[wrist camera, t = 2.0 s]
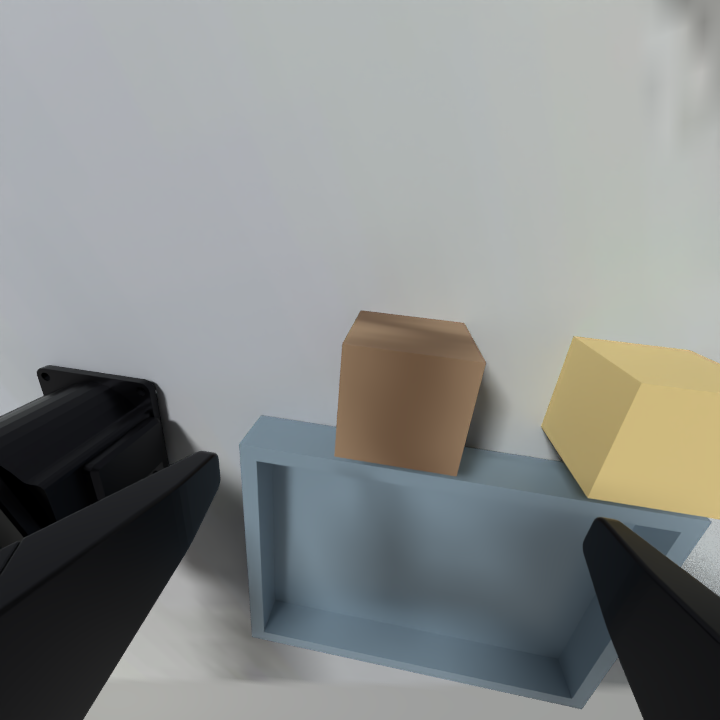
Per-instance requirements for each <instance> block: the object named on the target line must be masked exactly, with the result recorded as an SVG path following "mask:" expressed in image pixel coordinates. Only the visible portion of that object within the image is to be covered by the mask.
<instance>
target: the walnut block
mask: <svg viewBox="0 0 720 720" xmlns="http://www.w3.org/2000/svg"><path fill="white" fill-rule="evenodd" d="M485 365H486V362H485V360H484V358H483V356H482V355H481V353H480V351H479V349H478V347H477V346H476V344H475V342H474V340H473V338H472V336H471V335H470V333H469V331H468V329H467V327H466V325H465V324H464V323H460V322H451V321H443V320H435V319H427V318H419V317H410V316H402V315H394V314H386V313H377V312H369V311H360V313H359V315H358V317H357V318H356V320H355V322H354V324H353V326H352V327H351V329H350V331H349V333H348V335H347V336H346V338H345V340H344V342H343V344H342V356H341V370H340V384H339V398H338V412H337V426H336V440H335V454H334V457H340V458H346V459H352V460H358V461H364V462H371V463H377V464H383V465H389V466H395V467H401V468H407V469H413V470H420V471H426V472H432V473H438V474H444V475H450V476H457V473H458V469H459V465H460V461H461V457H462V453H463V449H464V446H465V442H466V438H467V434H468V430H469V426H470V422H471V419H472V415H473V411H474V407H475V403H476V399H477V395H478V392H479V388H480V384H481V380H482V376H483V372H484V368H485Z"/></svg>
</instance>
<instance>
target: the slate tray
mask: <svg viewBox="0 0 720 720" xmlns="http://www.w3.org/2000/svg"><path fill="white" fill-rule="evenodd" d="M335 440H336V427H333V426H327V425H320V424H314V423H308V422H301V421H295V420H288V419H282V418H275V417H269V416H262V415H261V417H260V418H259V419H258V420H257V422H256V423H255V424H254V426H253V427H252V428H251V430H250V431H249V432H248V433H247V435H246V436H245V437H244V439H243V440H242V441H241V443H240V444H239V450H240V464H241V479H242V494H243V509H244V523H245V538H246V553H247V568H248V582H249V597H250V612H251V627H252V637H255V638H259V639H264V640H269V641H273V642H278V643H282V644H287V645H291V646H296V647H301V648H305V649H310V650H314V651H319V652H323V653H328V654H332V655H337V656H342V657H346V658H351V659H355V660H360V661H364V662H369V663H373V664H378V665H383V666H387V667H392V668H396V669H401V670H405V671H410V672H414V673H419V674H424V675H428V676H433V677H437V678H442V679H446V680H451V681H455V682H460V683H465V684H469V685H474V686H478V687H483V688H487V689H492V690H497V691H501V692H506V693H510V694H515V695H519V696H524V697H528V698H533V699H538V700H542V701H547V702H551V703H556V704H561V705H565V706H570V707H575V708H579V709H582V708H583V707H584V705H585V704H586V702H587V701H588V699H589V698H590V697H591V695H592V694H593V692H594V691H595V690H596V688H597V687H598V685H599V684H600V682H601V681H602V679H603V678H604V677H605V675H606V674H607V672H608V671H609V669H610V668H611V666H612V665H613V664H614V662H615V661H616V659H617V658H618V655H617V653H616V650H615V648H614V646H613V643H612V640H611V638H610V635H609V633H608V630H607V627H606V624H605V621H604V618H603V616H602V612H601V609H600V606H599V603H598V599H597V596H596V593H595V590H594V586H593V583H592V580H591V577H590V573H589V570H588V567H587V564H586V560H585V557H584V554H583V541H584V538H585V536H586V534H587V532H588V530H589V528H590V526H591V524H592V522H593V521H594V519H595V518H597V517H605V518H611V519H616V520H618V521H620V522H622V523H623V524H624V525H626V526H627V527H628V528H630V529H631V530H632V531H633V532H635V533H636V534H637V535H639V536H640V537H641V538H643V539H644V540H645V541H647V542H648V543H649V544H651V545H652V546H653V547H655V548H656V549H657V550H658V551H660V552H661V553H662V554H664V555H665V556H666V557H668V558H669V559H670V560H672V561H673V562H674V563H676V564H677V565H678V566H680V567H681V566H682V564H683V563H684V561H685V560H686V558H687V557H688V555H689V554H690V553H691V551H692V550H693V548H694V547H695V545H696V544H697V542H698V541H699V540H700V538H701V537H702V535H703V534H704V532H705V531H706V530H707V528H708V527H709V525H710V524H711V521H710V520H709V519H708V518H707V517H702V516H696V515H689V514H683V513H677V512H671V511H665V510H659V509H653V508H646V507H640V506H634V505H628V504H622V503H616V502H609V501H603V500H597V499H591V498H587V496H586V495H585V493H584V492H583V490H582V489H581V487H580V486H579V484H578V483H577V481H576V479H575V478H574V476H573V475H572V473H571V472H570V470H569V469H568V467H567V466H566V464H565V463H564V462H559V461H553V460H546V459H540V458H534V457H527V456H521V455H514V454H508V453H501V452H495V451H488V450H482V449H475V448H469V447H464V449H463V453H462V457H461V461H460V465H459V469H458V473H457V476H450V475H444V474H438V473H432V472H426V471H420V470H413V469H407V468H401V467H395V466H389V465H383V464H377V463H371V462H364V461H358V460H352V459H346V458H340V457H334V454H335Z"/></svg>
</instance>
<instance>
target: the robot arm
mask: <svg viewBox="0 0 720 720" xmlns="http://www.w3.org/2000/svg"><path fill="white" fill-rule="evenodd" d="M37 376H38V379H39V382H40V385H41V388H42V391H43V394H44V396H42V397H40V398H38V399H36V400H34V401H32V402H30V403H28V404H25V405H23V406H21V407H19V408H17V409H15V410H13V411H11V412H8V413H6V414H4V415H2V416H0V720H83V719H84V717H85V716H86V714H87V712H88V711H89V709H90V708H91V706H92V704H93V702H94V701H95V700H96V698H97V696H98V695H99V693H100V691H101V690H102V688H103V686H104V685H105V683H106V682H107V680H108V678H109V677H110V675H111V674H112V672H113V670H114V669H115V667H116V665H117V664H118V662H119V661H120V659H121V657H122V656H123V654H124V653H125V651H126V649H127V648H128V646H129V644H130V643H131V641H132V640H133V638H134V636H135V635H136V633H137V631H138V630H139V628H140V627H141V625H142V623H143V622H144V620H145V618H146V617H147V615H148V614H149V612H150V610H151V609H152V607H153V605H154V604H155V602H156V601H157V599H158V597H159V596H160V594H161V593H162V591H163V589H164V588H165V586H166V584H167V583H168V581H169V580H170V578H171V576H172V575H173V573H174V571H175V570H176V568H177V567H178V565H179V563H180V562H181V560H182V558H183V557H184V555H185V553H186V552H187V550H188V548H189V546H190V544H191V543H192V541H193V539H194V537H195V535H196V533H197V531H198V529H199V527H200V525H201V523H202V520H203V518H204V516H205V514H206V512H207V510H208V508H209V506H210V504H211V502H212V500H213V498H214V496H215V494H216V492H217V490H218V488H219V485H220V469H219V459H218V455H217V454H216V453H213V452H207V451H199V452H197V453H195V454H193V455H191V456H189V457H187V458H185V459H183V460H181V461H179V462H176V463H174V464H172V465H170V466H169V465H168V459H167V454H166V448H165V442H164V436H163V431H162V425H161V419H160V414H159V408H158V402H157V396H156V391H155V387H154V385H153V384H152V383H151V382H150V381H148V380H145V379H139V378H132V377H125V376H119V375H112V374H105V373H99V372H92V371H85V370H79V369H72V368H65V367H59V366H52V365H47V366H45V367H42V368H40V369H38V371H37ZM143 389H144V390H145V391H144V390H143ZM583 554H584V557H585V560H586V564H587V567H588V570H589V573H590V577H591V580H592V583H593V586H594V590H595V593H596V596H597V599H598V603H599V606H600V609H601V612H602V616H603V618H604V621H605V624H606V627H607V630H608V633H609V635H610V638H611V640H612V643H613V646H614V648H615V650H616V653H617V655H618V658H619V660H620V663H621V665H622V668H623V670H624V673H625V675H626V677H627V680H628V682H629V685H630V687H631V690H632V692H633V695H634V697H635V699H636V702H637V704H638V707H639V709H640V712H641V714H642V717H643V719H644V720H720V597H719V596H718V595H716V594H715V593H714V592H712V591H711V590H710V589H708V588H707V587H706V586H705V585H703V584H702V583H701V582H699V581H698V580H697V579H695V578H694V577H693V576H691V575H690V574H689V573H687V572H686V571H685V570H683V569H682V568H681V567H680V566H678V565H677V564H676V563H674V562H673V561H672V560H670V559H669V558H668V557H666V556H665V555H664V554H662V553H661V552H660V551H658V550H657V549H656V548H655V547H653V546H652V545H651V544H649V543H648V542H647V541H645V540H644V539H643V538H641V537H640V536H639V535H637V534H636V533H635V532H633V531H632V530H631V529H630V528H628V527H627V526H626V525H624V524H623V523H622V522H620V521H618V520H616V519H611V518H605V517H597V518H595V519H594V521H593V522H592V524H591V526H590V528H589V530H588V532H587V534H586V536H585V538H584V541H583Z"/></svg>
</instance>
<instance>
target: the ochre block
mask: <svg viewBox="0 0 720 720" xmlns="http://www.w3.org/2000/svg"><path fill="white" fill-rule="evenodd" d="M541 427H542V429H543V430H544V432H545V433H546V435H547V436H548V438H549V439H550V441H551V443H552V444H553V446H554V447H555V449H556V450H557V452H558V453H559V455H560V456H561V458H562V459H563V461H564V463H565V464H566V466H567V467H568V469H569V470H570V472H571V473H572V475H573V476H574V478H575V479H576V481H577V483H578V484H579V486H580V487H581V489H582V490H583V492H584V493H585V495H586V496H587V498H591V499H597V500H603V501H609V502H616V503H622V504H628V505H634V506H640V507H646V508H653V509H659V510H665V511H671V512H677V513H683V514H689V515H696V516H702V517H708V518H714V519H720V364H719V363H717V362H714V361H712V360H710V359H708V358H706V357H703V356H701V355H699V354H697V353H695V352H692V351H690V350H683V349H675V348H666V347H658V346H650V345H641V344H633V343H625V342H617V341H608V340H600V339H592V338H584V337H575V336H574V337H573V339H572V342H571V345H570V348H569V351H568V353H567V356H566V359H565V362H564V364H563V367H562V370H561V373H560V376H559V378H558V381H557V384H556V387H555V389H554V392H553V395H552V398H551V401H550V403H549V406H548V409H547V412H546V415H545V417H544V420H543V423H542V426H541Z"/></svg>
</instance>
